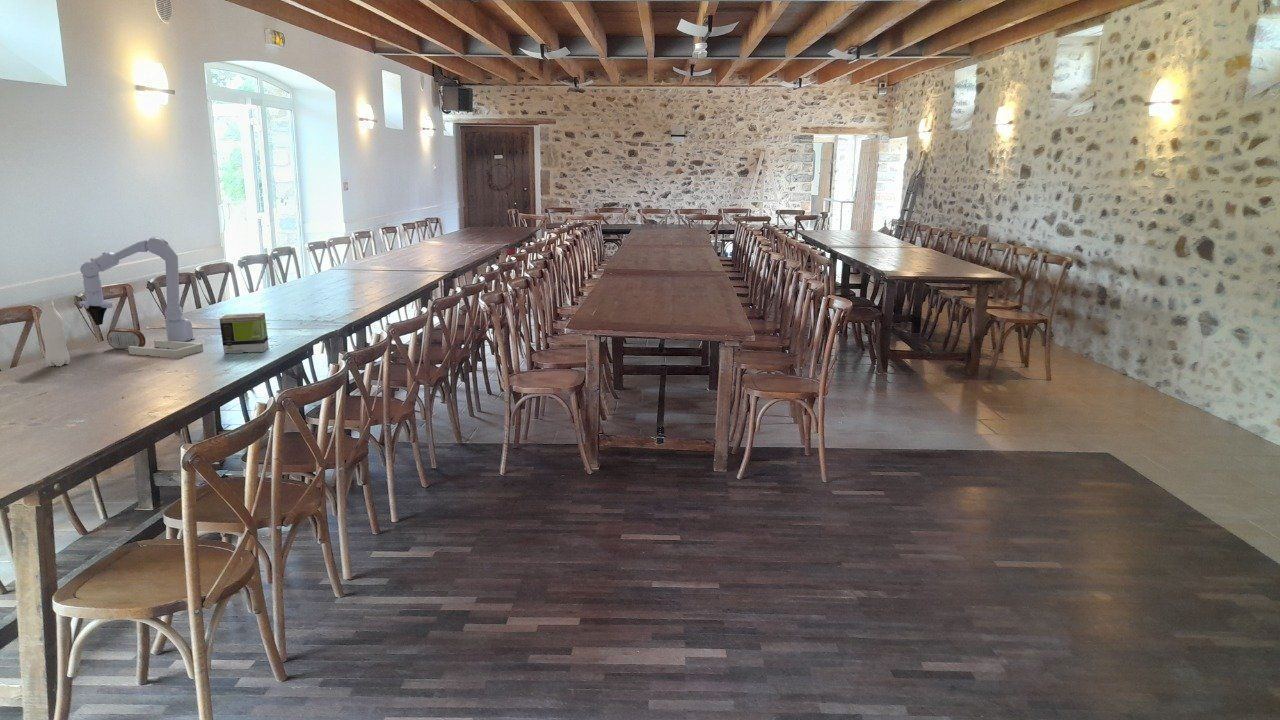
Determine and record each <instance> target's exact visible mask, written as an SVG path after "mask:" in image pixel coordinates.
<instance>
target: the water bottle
mask: <svg viewBox="0 0 1280 720" xmlns="http://www.w3.org/2000/svg"><path fill="white" fill-rule="evenodd" d="M41 301H42V312H41V314H40V316H39V320H38V324H39V329H40V333H41V338H42V341H43V345H44V348H45V349H44V350H45V351H44V352H45V354H44V358H45V362H46V363H47V365H48V366H49V367H51V366H53V367H55V366H56V367H57V366H60V367H63V366H62V365H64V364H68V365H69V364H70V361H71V357H70V356H71V355H70V353H69V350H68V348H67V341H66V336H67V335H66V331H65V323H64V318H63V317H62V315H61V314H60V313H59V311H57V309H56V308H55V303H54V300H53V298H43V299H42V300H41Z"/></svg>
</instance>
